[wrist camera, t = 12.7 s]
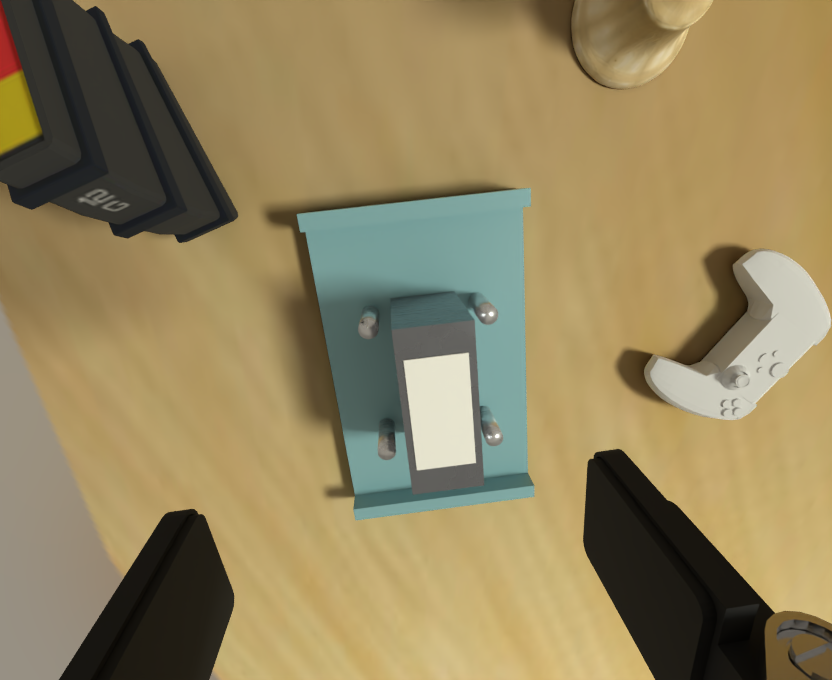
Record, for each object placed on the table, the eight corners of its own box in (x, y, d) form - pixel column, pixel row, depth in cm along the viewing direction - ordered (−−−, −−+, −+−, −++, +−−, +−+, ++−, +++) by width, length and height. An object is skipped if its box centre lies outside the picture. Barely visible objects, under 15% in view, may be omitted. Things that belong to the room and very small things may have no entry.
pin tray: (304, 212, 31) (289, 215, 26) (517, 188, 31) (541, 187, 26) (357, 497, 40) (353, 539, 35) (523, 475, 40) (543, 514, 35)
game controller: (773, 234, 31) (880, 311, 31) (736, 236, 35) (830, 303, 35) (640, 384, 34) (737, 452, 35) (620, 369, 39) (707, 430, 39)
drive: (390, 298, 32) (391, 330, 25) (454, 290, 32) (475, 320, 25) (407, 432, 36) (412, 495, 29) (464, 425, 36) (484, 486, 29)
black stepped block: (214, 279, 30) (-22, 190, 16) (160, 123, 32) (-105, -96, 17) (261, 259, 30) (65, 148, 15) (203, 102, 32) (-27, -139, 17)
